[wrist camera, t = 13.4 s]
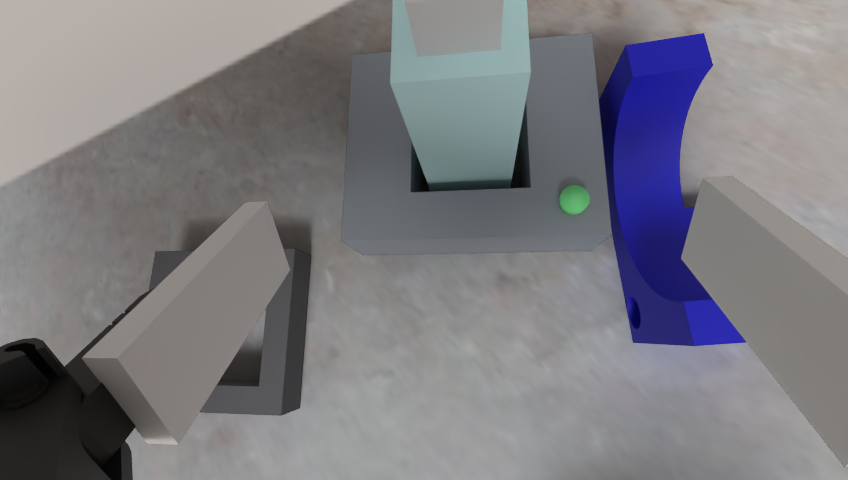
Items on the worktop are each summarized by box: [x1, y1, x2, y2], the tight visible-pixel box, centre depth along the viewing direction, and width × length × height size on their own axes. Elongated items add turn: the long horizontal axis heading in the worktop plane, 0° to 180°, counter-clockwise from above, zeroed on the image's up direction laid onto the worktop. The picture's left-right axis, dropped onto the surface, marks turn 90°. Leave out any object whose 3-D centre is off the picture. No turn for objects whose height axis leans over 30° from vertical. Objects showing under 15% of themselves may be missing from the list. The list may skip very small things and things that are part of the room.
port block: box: [341, 33, 612, 255], centre depth 21 cm, size 12×10×4 cm
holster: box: [149, 249, 311, 416], centre depth 21 cm, size 8×8×2 cm
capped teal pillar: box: [390, 0, 531, 192], centre depth 16 cm, size 4×4×13 cm
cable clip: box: [599, 33, 746, 346], centre depth 18 cm, size 12×4×6 cm, turn 4°
